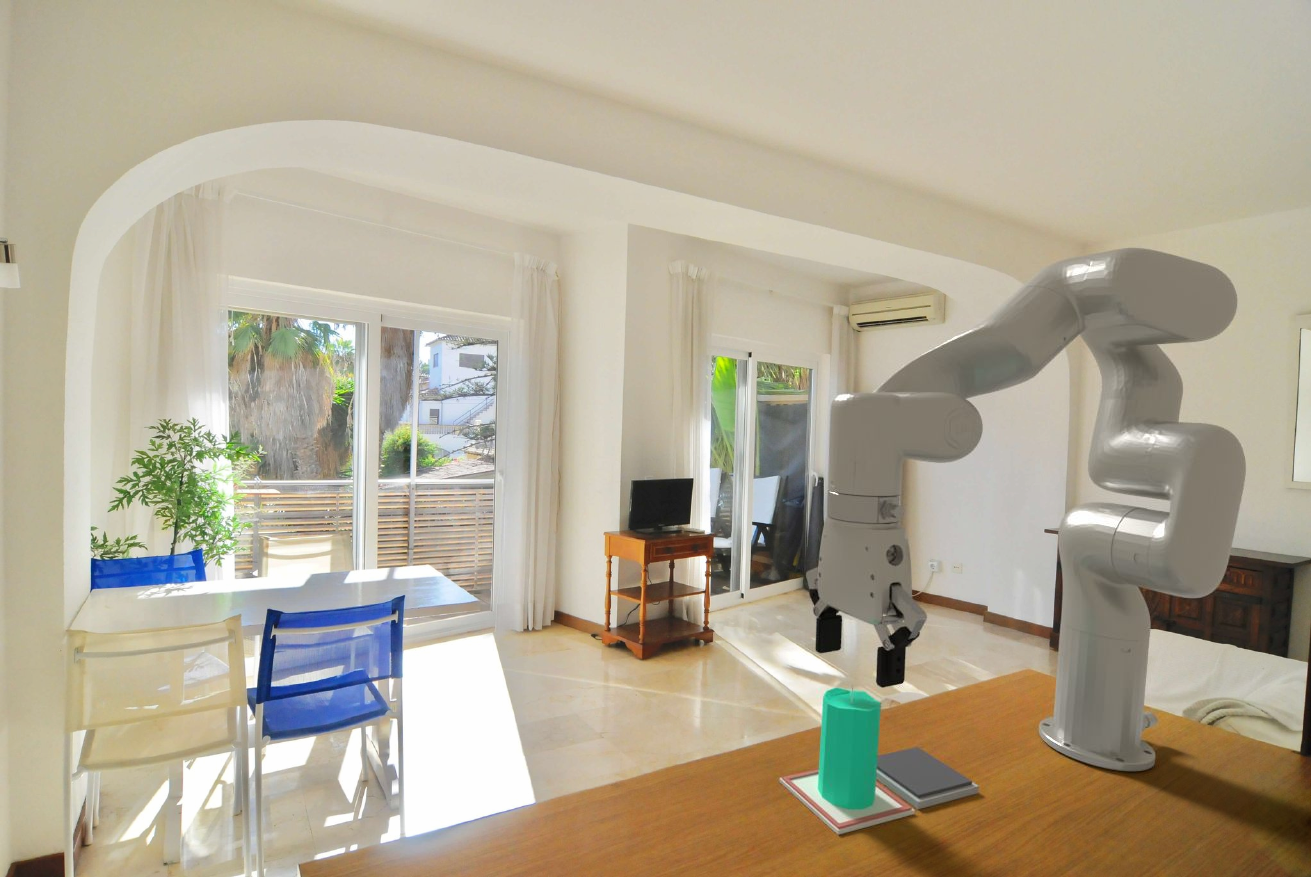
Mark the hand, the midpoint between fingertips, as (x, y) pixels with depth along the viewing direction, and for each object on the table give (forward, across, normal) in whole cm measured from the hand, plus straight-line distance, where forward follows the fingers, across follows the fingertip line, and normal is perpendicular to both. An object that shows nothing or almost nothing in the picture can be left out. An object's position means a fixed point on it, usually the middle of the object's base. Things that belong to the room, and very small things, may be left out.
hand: (857, 666), depth 73 cm
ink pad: (+15, 0, -9) cm, 17 cm away
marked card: (+14, 0, +1) cm, 14 cm away
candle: (+14, 0, +1) cm, 14 cm away
